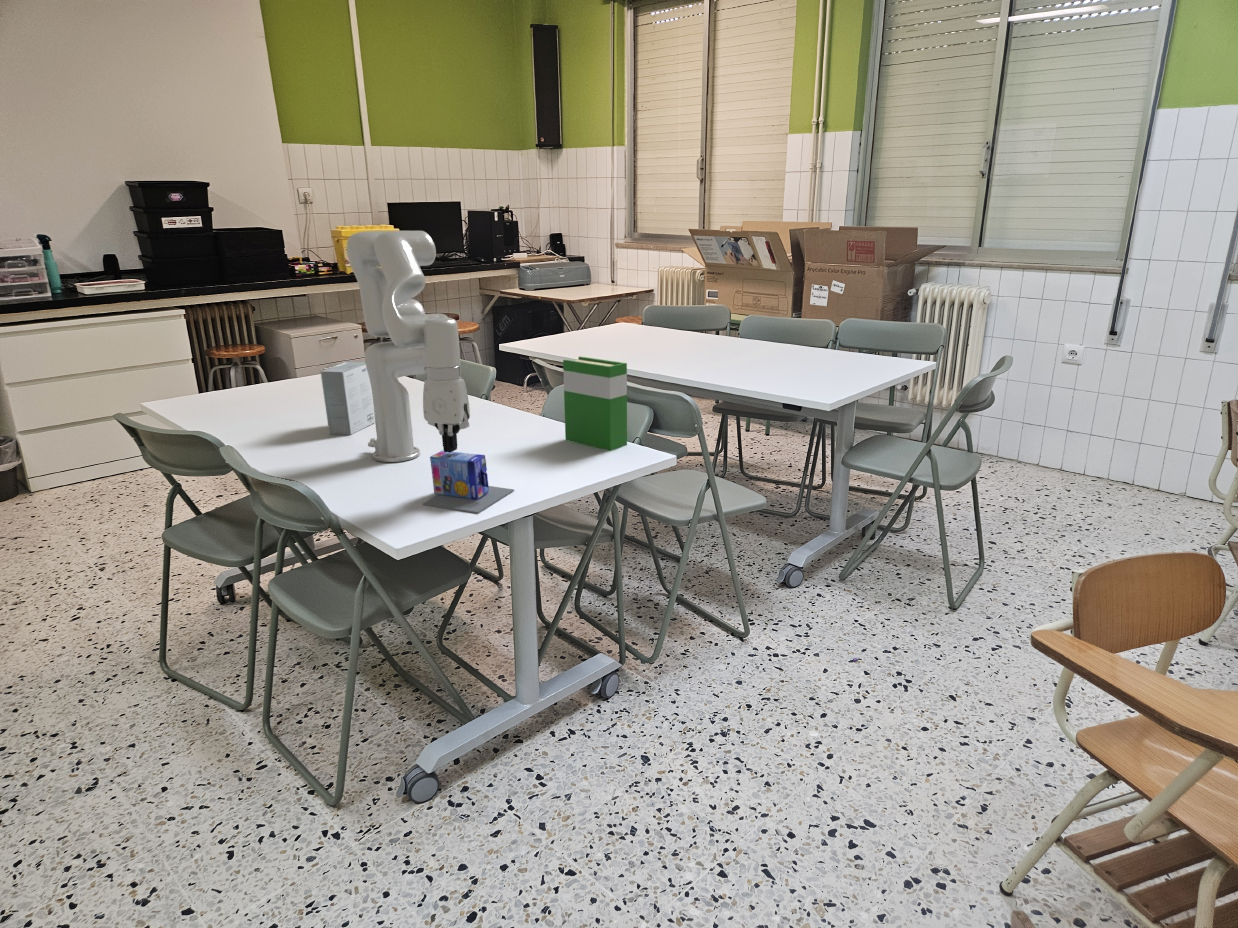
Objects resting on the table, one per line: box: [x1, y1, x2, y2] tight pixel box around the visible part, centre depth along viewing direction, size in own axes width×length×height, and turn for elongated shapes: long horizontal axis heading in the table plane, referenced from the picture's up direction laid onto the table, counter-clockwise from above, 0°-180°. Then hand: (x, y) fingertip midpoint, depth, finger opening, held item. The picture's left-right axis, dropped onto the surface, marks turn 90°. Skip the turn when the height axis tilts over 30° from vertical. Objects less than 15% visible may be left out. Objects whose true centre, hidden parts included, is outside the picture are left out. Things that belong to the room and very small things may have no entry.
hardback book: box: [562, 356, 628, 452], centre depth 220 cm, size 18×7×24 cm, turn 50°
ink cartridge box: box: [429, 450, 490, 500], centre depth 179 cm, size 10×6×14 cm
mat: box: [422, 485, 515, 515], centre depth 180 cm, size 15×16×1 cm
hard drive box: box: [320, 361, 375, 436], centre depth 237 cm, size 16×8×20 cm, turn 168°
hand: (450, 450), depth 178 cm, fingers closed
